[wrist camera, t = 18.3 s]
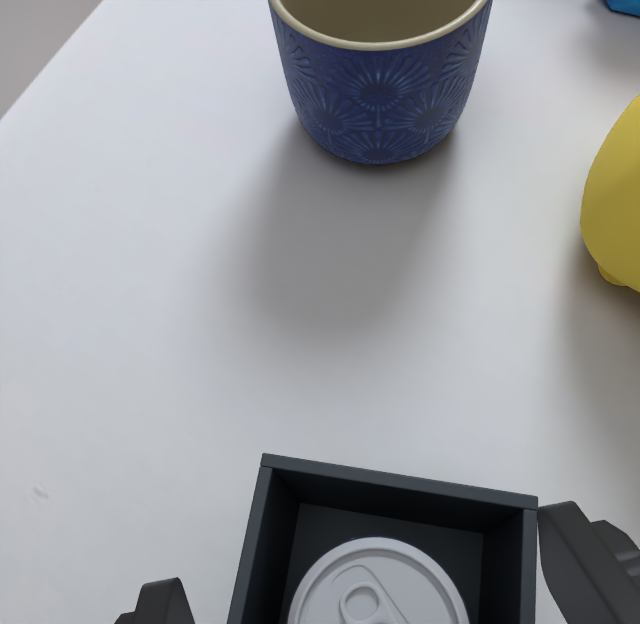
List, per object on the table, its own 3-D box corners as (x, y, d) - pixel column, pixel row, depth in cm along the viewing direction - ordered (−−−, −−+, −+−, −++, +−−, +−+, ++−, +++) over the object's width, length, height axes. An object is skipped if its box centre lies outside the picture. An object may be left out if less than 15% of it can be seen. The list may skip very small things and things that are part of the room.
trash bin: (478, 769, 26) (529, 855, 17) (253, 718, 28) (194, 773, 19) (491, 526, 30) (538, 496, 21) (294, 493, 32) (262, 452, 23)
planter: (477, 53, 44) (505, -106, 34) (463, 194, 39) (492, 55, 29) (308, 43, 46) (288, -110, 36) (273, 176, 41) (240, 41, 31)
